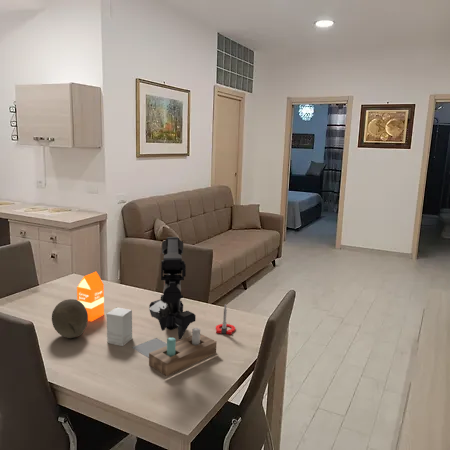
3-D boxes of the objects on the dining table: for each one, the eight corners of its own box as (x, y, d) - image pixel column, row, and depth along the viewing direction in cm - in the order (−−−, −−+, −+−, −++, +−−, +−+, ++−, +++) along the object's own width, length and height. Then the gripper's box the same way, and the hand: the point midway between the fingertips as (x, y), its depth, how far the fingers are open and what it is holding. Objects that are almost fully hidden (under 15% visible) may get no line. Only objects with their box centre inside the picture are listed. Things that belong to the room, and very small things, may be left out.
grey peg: (190, 354, 161) (190, 329, 159) (195, 351, 163) (196, 327, 161) (195, 357, 159) (196, 332, 157) (201, 354, 161) (201, 329, 159)
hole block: (149, 365, 152) (149, 353, 151) (198, 344, 169) (198, 332, 168) (166, 377, 145) (167, 363, 144) (216, 353, 162) (216, 341, 161)
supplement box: (132, 339, 171) (132, 309, 169) (122, 347, 165) (122, 316, 162) (117, 335, 174) (116, 306, 171) (106, 343, 167) (105, 313, 164)
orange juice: (77, 318, 189) (76, 275, 185) (90, 311, 197) (89, 269, 193) (91, 321, 186) (90, 278, 182) (104, 314, 194) (103, 272, 190)
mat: (131, 348, 164) (131, 347, 164) (156, 338, 172) (156, 337, 172) (150, 359, 156) (150, 358, 156) (175, 349, 164) (175, 348, 164)
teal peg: (171, 362, 155) (171, 336, 153) (176, 365, 153) (177, 339, 151) (165, 365, 153) (165, 339, 151) (170, 368, 151) (170, 342, 149)
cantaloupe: (95, 331, 177) (94, 297, 174) (76, 346, 164) (75, 309, 161) (65, 326, 180) (63, 293, 177) (44, 341, 167) (42, 305, 164)
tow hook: (217, 325, 188) (213, 333, 179) (218, 297, 187) (215, 304, 177) (236, 327, 187) (233, 335, 178) (238, 299, 185) (235, 306, 176)
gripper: (136, 290, 148) (136, 332, 151) (171, 305, 135) (170, 351, 138) (162, 283, 156) (161, 323, 159) (197, 297, 143) (196, 340, 146)
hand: (171, 334), depth 150 cm, fingers open, 9 cm apart
